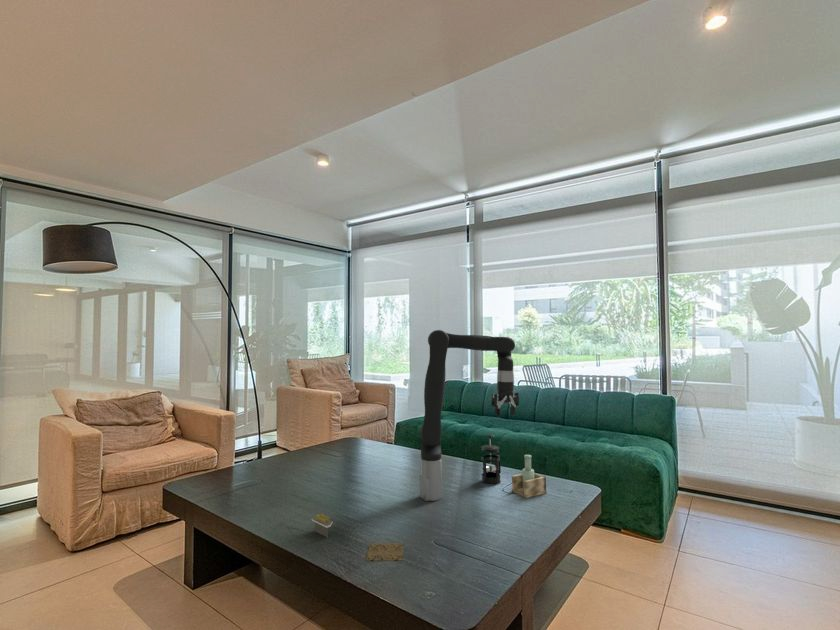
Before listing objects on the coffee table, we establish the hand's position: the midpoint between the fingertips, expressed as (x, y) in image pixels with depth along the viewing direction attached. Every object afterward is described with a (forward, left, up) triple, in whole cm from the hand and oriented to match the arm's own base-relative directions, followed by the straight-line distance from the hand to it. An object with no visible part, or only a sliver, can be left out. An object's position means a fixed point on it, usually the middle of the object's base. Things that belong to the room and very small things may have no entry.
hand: (505, 415), depth 194 cm
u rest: (+11, -2, -35) cm, 37 cm away
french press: (+5, +17, -36) cm, 40 cm away
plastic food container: (-83, +4, -36) cm, 91 cm away
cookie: (-69, -19, -36) cm, 80 cm away
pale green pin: (+11, -2, -34) cm, 36 cm away
